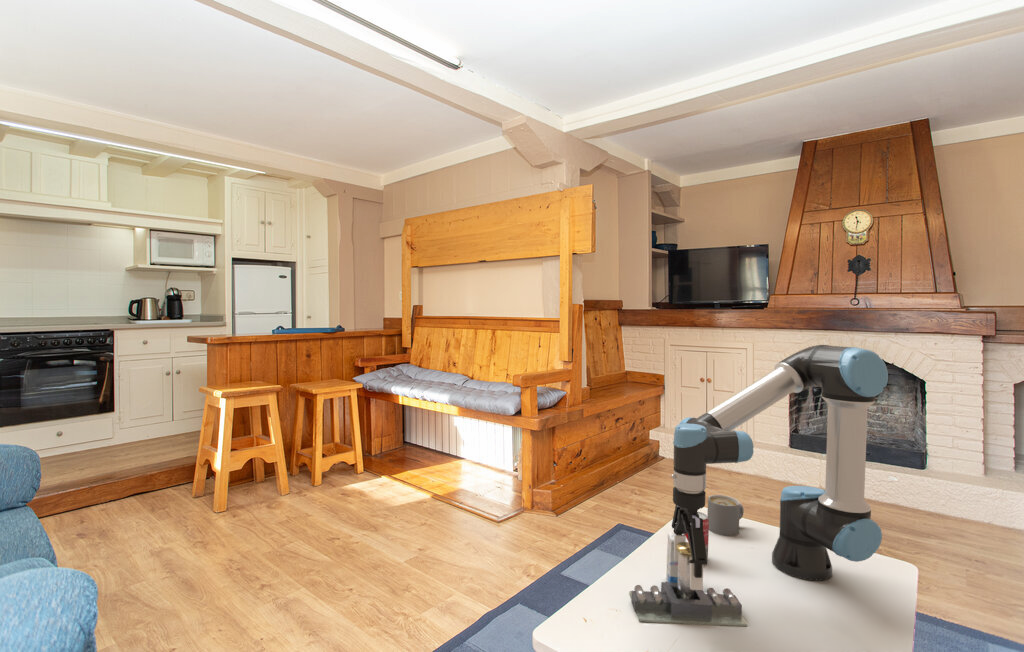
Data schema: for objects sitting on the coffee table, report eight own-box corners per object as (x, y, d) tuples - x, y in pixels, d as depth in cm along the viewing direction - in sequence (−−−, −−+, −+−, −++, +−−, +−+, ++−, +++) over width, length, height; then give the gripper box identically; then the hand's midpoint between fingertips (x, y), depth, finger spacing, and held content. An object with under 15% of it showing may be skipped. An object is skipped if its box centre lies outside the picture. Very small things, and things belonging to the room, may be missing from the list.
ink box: (689, 590, 132) (689, 542, 134) (669, 587, 133) (669, 540, 135) (685, 578, 141) (685, 533, 142) (666, 576, 142) (666, 531, 143)
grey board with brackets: (728, 597, 132) (729, 581, 132) (748, 626, 120) (748, 608, 120) (628, 593, 133) (628, 577, 133) (637, 621, 121) (638, 604, 121)
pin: (692, 601, 129) (694, 542, 128) (698, 613, 124) (700, 551, 123) (672, 600, 129) (674, 541, 128) (677, 612, 124) (679, 551, 123)
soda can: (710, 556, 154) (711, 513, 153) (704, 566, 148) (706, 521, 147) (685, 550, 158) (687, 508, 157) (679, 559, 152) (681, 516, 151)
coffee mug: (718, 536, 167) (719, 506, 167) (701, 524, 177) (702, 495, 177) (754, 534, 170) (755, 504, 170) (735, 521, 180) (736, 493, 179)
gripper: (660, 471, 138) (659, 549, 139) (689, 507, 113) (687, 602, 114) (689, 472, 138) (687, 550, 138) (723, 508, 113) (721, 603, 114)
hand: (687, 574), depth 126 cm, fingers open, 13 cm apart
